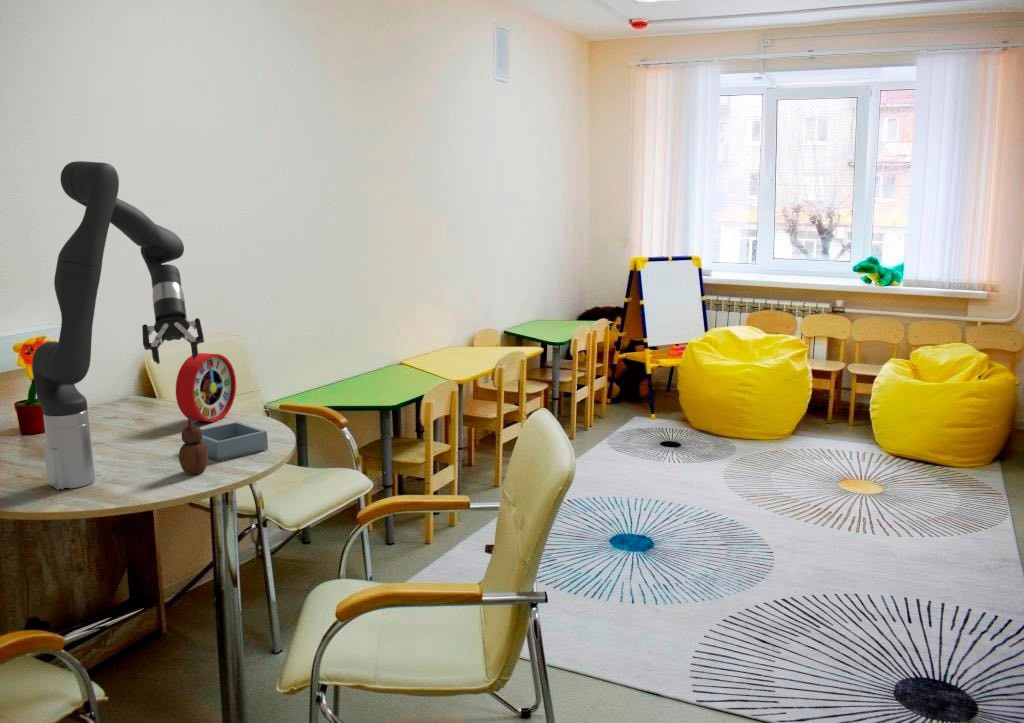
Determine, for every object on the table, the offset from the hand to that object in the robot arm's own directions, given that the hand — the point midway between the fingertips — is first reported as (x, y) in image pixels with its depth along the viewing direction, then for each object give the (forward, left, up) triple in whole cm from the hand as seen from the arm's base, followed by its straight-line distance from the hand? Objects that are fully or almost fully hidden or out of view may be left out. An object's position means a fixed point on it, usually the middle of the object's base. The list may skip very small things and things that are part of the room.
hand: (176, 360), depth 221 cm
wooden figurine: (-4, -13, -26) cm, 29 cm away
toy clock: (+23, +31, -26) cm, 46 cm away
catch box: (+11, -2, -25) cm, 28 cm away
